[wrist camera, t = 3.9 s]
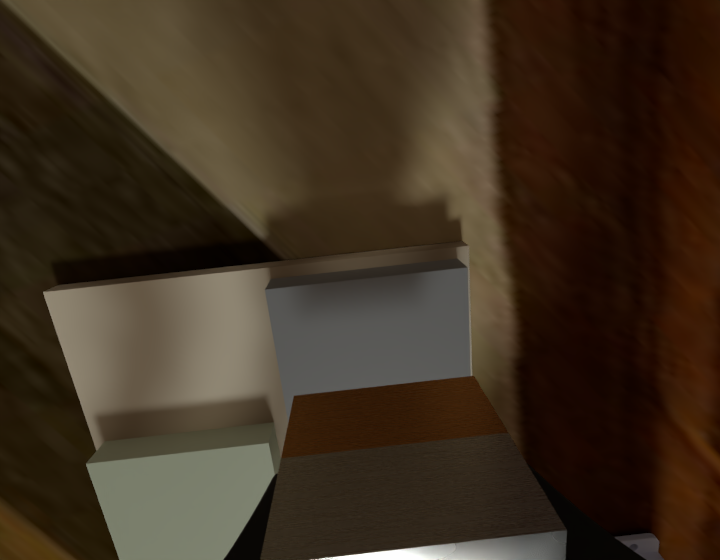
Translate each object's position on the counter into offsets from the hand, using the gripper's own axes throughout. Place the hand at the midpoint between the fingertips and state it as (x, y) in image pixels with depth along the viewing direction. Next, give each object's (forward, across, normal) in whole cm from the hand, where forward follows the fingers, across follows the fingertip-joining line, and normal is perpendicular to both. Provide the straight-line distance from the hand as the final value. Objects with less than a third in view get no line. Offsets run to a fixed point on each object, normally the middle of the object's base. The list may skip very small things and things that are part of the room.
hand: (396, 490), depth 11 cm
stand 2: (+9, 0, 0) cm, 9 cm away
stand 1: (+9, +9, +7) cm, 15 cm away
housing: (+1, 0, 0) cm, 1 cm away
